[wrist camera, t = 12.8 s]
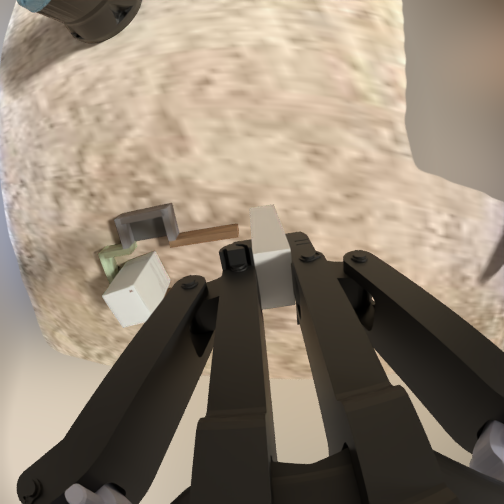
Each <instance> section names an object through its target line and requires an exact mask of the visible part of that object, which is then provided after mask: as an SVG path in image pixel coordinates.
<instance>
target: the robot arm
mask: <svg viewBox="0 0 504 504" xmlns="http://www.w3.org/2000/svg"><path fill="white" fill-rule="evenodd" d="M17 2H18V4H19V5H21V6H22V7H24V8H26V9H28V10H30V11H31V12H36V13H39V14H42V15H44V16H47V17H50V18H52V19H55V20H57V21H60V22H62V23H64V24H65V25H66V27H67V28H68V30H69V32H70V33H71V34H72V36H73V37H75V38H76V39H78V40H80V41H83V42H86V43H97V42H101V41H104V40H107V39H109V38H111V37H113V36H114V35H116V34H117V33H119V32H120V31H121V30H123V29H124V28H125V27H126V26H127V25H128V24H129V23H130V22H131V21H132V20H133V18H134V17H135V15H136V14H137V12H138V10H139V8H140V5H141V2H142V0H17ZM250 223H251V238H252V239H251V240H244V241H238V242H233V243H232V244H229V245H227V246H225V247H223V248H222V249H220V251H219V255H220V260H221V264H222V269H223V272H222V276H221V277H220V278H218V279H216V280H213V281H210V282H207V283H206V280H205V278H204V277H202V276H199V275H190V276H186V277H183V278H182V279H180V280H178V281H177V282H176V283H175V284H174V286H173V287H172V288H171V289H170V291H169V292H168V293H167V295H166V296H165V297H164V298H163V300H162V301H161V302H160V304H159V305H158V306H157V307H156V309H155V310H154V311H153V313H152V314H151V315H150V317H149V318H148V319H147V321H146V322H145V323H144V325H143V326H142V327H141V329H140V330H139V331H138V333H137V334H136V335H135V337H134V338H133V339H132V341H131V342H130V343H129V345H128V346H127V347H126V349H125V350H124V352H123V353H122V354H121V356H120V357H119V358H118V360H117V361H116V363H115V364H114V365H113V367H112V368H111V370H110V371H109V372H108V374H107V375H106V377H105V378H104V379H103V381H102V382H101V384H100V385H99V387H98V388H97V389H96V391H95V393H94V394H93V395H92V397H91V398H90V400H89V401H88V403H87V404H86V406H85V407H84V408H83V410H82V411H81V413H80V414H79V416H78V417H77V419H76V420H75V422H74V424H73V425H72V426H71V428H70V430H69V431H68V433H67V434H66V436H65V437H64V439H63V440H61V441H60V442H59V443H58V444H57V445H56V446H54V447H53V448H52V449H51V450H49V451H48V452H47V453H46V454H45V455H43V456H42V457H41V458H40V459H39V460H37V461H36V462H35V463H34V464H32V465H31V466H30V467H29V468H28V469H26V470H25V471H24V472H23V473H22V474H21V475H20V477H19V479H18V482H17V494H18V497H19V500H20V501H21V503H22V504H139V503H140V501H141V500H142V498H143V497H144V496H145V494H146V493H147V491H148V489H149V487H150V486H151V484H152V482H153V480H154V478H155V476H156V474H157V471H158V469H159V467H160V465H161V462H162V460H163V458H164V456H165V454H166V451H167V449H168V447H169V445H170V443H171V440H172V438H173V436H174V434H175V432H176V429H177V427H178V425H179V422H180V420H181V418H182V416H183V414H184V411H185V409H186V407H187V405H188V402H189V400H190V398H191V396H192V394H193V391H194V389H195V387H196V385H197V382H198V380H199V378H200V376H201V374H202V371H203V369H204V367H205V365H206V362H207V360H208V358H209V356H210V353H211V351H212V349H213V355H212V365H211V374H210V384H209V395H208V404H207V413H206V416H205V417H204V418H200V420H199V421H198V424H197V429H196V437H195V447H194V457H193V467H192V479H191V486H190V487H188V488H187V489H186V490H184V491H183V492H182V493H181V494H180V495H179V496H178V497H177V498H176V499H175V500H174V501H173V502H171V503H170V504H504V352H503V351H502V350H501V349H499V348H498V347H497V346H496V345H495V344H493V343H492V342H491V341H490V340H489V339H487V338H486V337H485V336H484V335H483V334H481V333H480V332H479V331H478V330H476V329H475V328H474V327H473V326H471V325H470V324H469V323H468V322H466V321H465V320H464V319H463V318H461V317H460V316H459V315H457V314H456V313H455V312H454V311H452V310H451V309H450V308H448V307H447V306H446V305H444V304H443V303H442V302H440V301H439V300H438V299H436V298H435V297H434V296H432V295H431V294H429V293H428V292H427V291H425V290H424V289H423V288H421V287H420V286H418V285H417V284H415V283H414V282H413V281H411V280H410V279H408V278H407V277H406V276H404V275H403V274H401V273H400V272H398V271H397V270H395V269H394V268H392V267H391V266H390V265H388V264H387V263H385V262H384V261H382V260H381V259H379V258H378V257H376V256H375V255H373V254H371V253H369V252H366V251H363V250H359V251H358V250H355V251H351V252H348V253H346V254H345V255H344V257H343V262H332V261H327V260H326V258H325V256H324V255H323V254H322V253H320V252H318V251H315V249H314V247H313V245H312V243H311V242H310V240H309V238H308V236H307V235H306V234H304V233H302V232H295V233H288V234H285V233H284V230H283V227H282V225H281V222H280V219H279V217H278V214H277V211H276V209H275V206H274V204H273V205H266V206H259V207H253V208H250ZM372 297H373V299H374V301H375V302H374V301H373V300H372ZM295 300H296V310H297V325H299V324H300V327H301V331H302V334H303V338H304V343H305V347H306V351H307V355H308V359H309V363H310V367H311V371H312V375H313V380H314V384H315V388H316V392H317V397H318V401H319V405H320V410H321V414H322V419H323V423H324V428H325V432H326V437H327V441H328V447H329V457H327V458H325V459H322V460H320V461H318V462H316V463H313V464H294V463H282V462H278V461H277V453H276V444H275V434H274V422H273V412H272V401H271V392H270V381H269V371H268V360H267V350H266V340H265V330H264V320H263V313H262V310H263V309H270V308H277V307H283V306H290V305H295ZM374 349H375V350H376V351H377V352H378V353H379V354H380V356H381V357H382V358H383V359H384V360H385V361H386V362H387V364H388V365H389V366H390V367H391V368H392V369H393V370H394V371H395V373H396V374H397V375H398V376H399V377H400V378H401V379H402V381H403V382H404V383H405V384H406V385H407V386H408V387H409V389H410V390H411V391H412V392H413V393H414V394H415V395H416V397H417V398H418V399H419V400H420V401H421V402H422V404H423V405H424V406H425V407H426V408H427V410H428V411H429V412H430V413H431V414H432V415H433V417H434V418H435V419H436V420H437V421H438V423H439V424H440V425H441V426H442V427H443V429H444V430H445V431H446V432H447V433H448V434H449V435H450V436H451V437H452V439H453V440H454V441H455V442H457V443H458V444H459V445H460V446H461V447H462V448H464V449H465V450H466V451H468V452H470V453H471V454H473V455H472V459H471V461H470V468H469V467H467V466H465V465H463V464H461V463H459V462H456V461H454V460H452V459H450V458H448V457H446V456H444V455H442V454H440V453H438V452H436V451H434V450H432V448H431V445H430V443H429V440H428V438H427V435H426V433H425V431H424V428H423V426H422V424H421V422H420V419H419V417H418V415H417V413H416V410H415V408H414V406H413V404H412V402H411V400H410V398H409V396H408V394H407V392H406V391H405V389H404V388H403V387H402V386H400V385H397V386H393V385H391V383H390V382H389V380H388V378H387V375H386V373H385V371H384V369H383V367H382V365H381V363H380V361H379V359H378V356H377V354H376V352H375V350H374Z"/></svg>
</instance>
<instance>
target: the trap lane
mask: <svg viewBox="0 0 504 504" xmlns="http://www.w3.org/2000/svg"><path fill="white" fill-rule="evenodd" d="M114 221H115V224H116V228H117V231H118V234H119V237H120V240H121V244H116V245H111V246H106V247H104V248H103V249H102V250H101V251H100V252H99V253H98V255H99V258H100V261H101V263H102V266H103V269H104V271H105V274H106V276H107V279H108V281H109V284H111V282H112V281H113V279H114V278H115V277H116V275H117V274H118V273H119V269H118V266H117V264H116V261H115V258H114V257H118V256H124V255H129V254H131V253H132V252H133V251H134V250H135V249H136V247H137V244H136V241H140V240H145V239H151V238H157V237H162V236H167V237H168V241H169V244H170V248H172V247H178V246H184V245H191V244H197V243H204V242H210V241H217V240H223V239H230V238H236V237H238V234H239V229H238V224H232V225H225V226H219V227H213V228H206V229H200V230H194V231H188V232H182V233H179V229H178V225H177V221H176V217H175V213H174V209H173V205H172V203H169V204H164V205H159V206H154V207H149V208H145V209H140V210H136V211H131V212H127V213H123V214H121V215H119V216H118V217H117V218H116V219H114ZM170 289H171V288H167V291H166V293H165V296H166V295H167V293H168V292H169V291H170ZM165 296H164V297H165Z"/></svg>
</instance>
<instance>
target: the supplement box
mask: <svg viewBox="0 0 504 504" xmlns="http://www.w3.org/2000/svg"><path fill="white" fill-rule="evenodd" d="M170 281H171V280H170V278H169V276H168V274H167V272H166V271H165V269H164V267H163V265H162V263H161V261H160V259H159V257H158V255H157V253H156V251H153V252H150V253H148V254H145V255H142V256H140V257H137V258H134V259H132V260H129V261H127V262H126V263H125V264H124V266H123V267H122V268H121V270H120V271H119V273H118V274H117V275H116V277H115V278H114V279H113V281H112V282H111V284H110V285H109V287H108V288H107V289H106V291H105V292H104V294H103V295H102V297H103V299H104V300H105V302H106V303H107V305H108V306H109V308H110V309H111V311H112V312H113V314H114V315H115V317H116V318H117V320H118V321H119V323H120V324H121V326H122V327H123V328H124V327H128V326H132V325H136V324H140V323H144V322H146V321H147V319H148V318H149V317H150V315H151V314H152V313H153V311H154V310H155V309H156V307H157V306H158V305H159V304H160V302H161V301H162V300H163V298H164V296H165V293H166V291H167V288H168V286H169V284H170Z"/></svg>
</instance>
